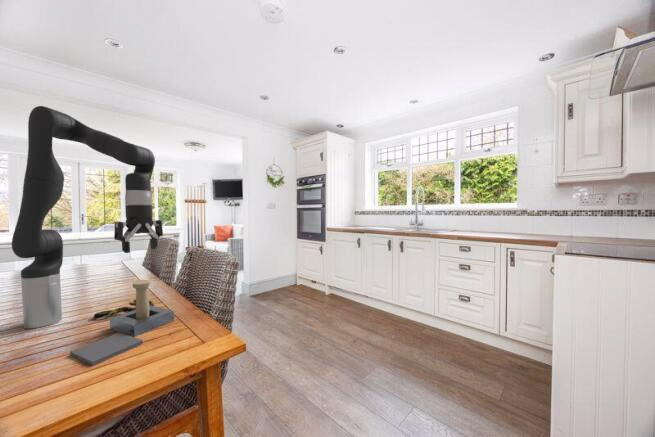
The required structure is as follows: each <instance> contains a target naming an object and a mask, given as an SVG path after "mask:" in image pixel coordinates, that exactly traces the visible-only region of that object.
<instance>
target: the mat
mask: <svg viewBox="0 0 655 437" xmlns="http://www.w3.org/2000/svg"><path fill="white" fill-rule="evenodd" d="M143 343H144V340H143V339H140V338H137V337H134V336H131V335H128V334H125V333H122V332H118V333H115V334H113V335H110V336H108V337H105V338H101V339H100V340H97V341H95V342H92V343H88V344H86V345H83V346H81V347H78V348H75V349H73V350H70V351H69V355H70V356H71V357H73V358H76V359H78V360H80V361H81V362H84V363H86V364H89V365H90V366H96V365H98V364H100V363H102V362H105V361H107V360H109V359H111V358H113V357H115V356H116V357H117V356H118V355H120V354H122V353H125V352H127V351H129V350H131V349H134V348H136V347H138V346H141V345H143Z"/></svg>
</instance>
